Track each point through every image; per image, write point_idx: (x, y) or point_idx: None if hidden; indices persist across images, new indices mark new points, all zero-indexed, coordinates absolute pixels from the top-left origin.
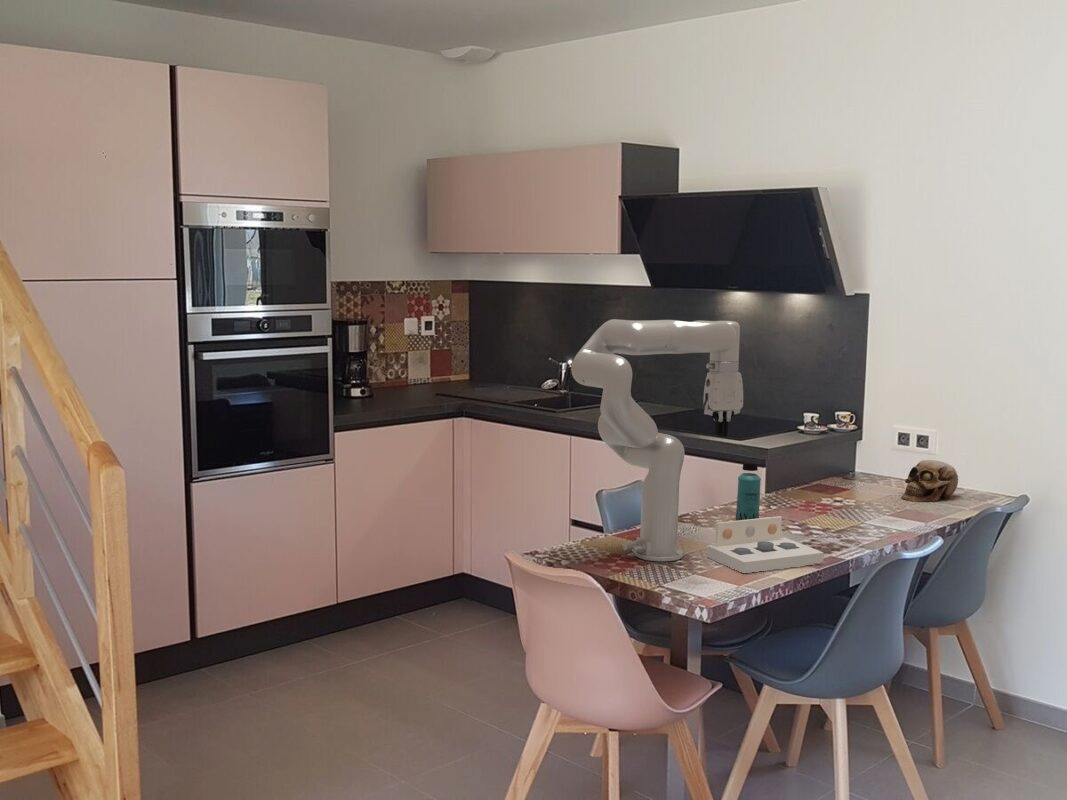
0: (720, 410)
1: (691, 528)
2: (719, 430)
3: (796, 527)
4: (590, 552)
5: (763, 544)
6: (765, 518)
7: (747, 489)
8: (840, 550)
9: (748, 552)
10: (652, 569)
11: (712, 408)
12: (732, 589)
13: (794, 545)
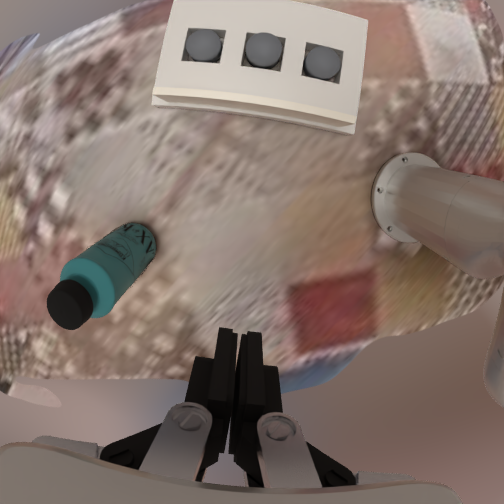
0: (362, 486)
1: (220, 314)
2: (270, 373)
3: (43, 223)
4: None
5: (274, 44)
6: (204, 90)
7: (115, 260)
8: (82, 60)
9: (321, 47)
10: (463, 143)
11: (453, 492)
12: (422, 3)
13: (196, 33)
